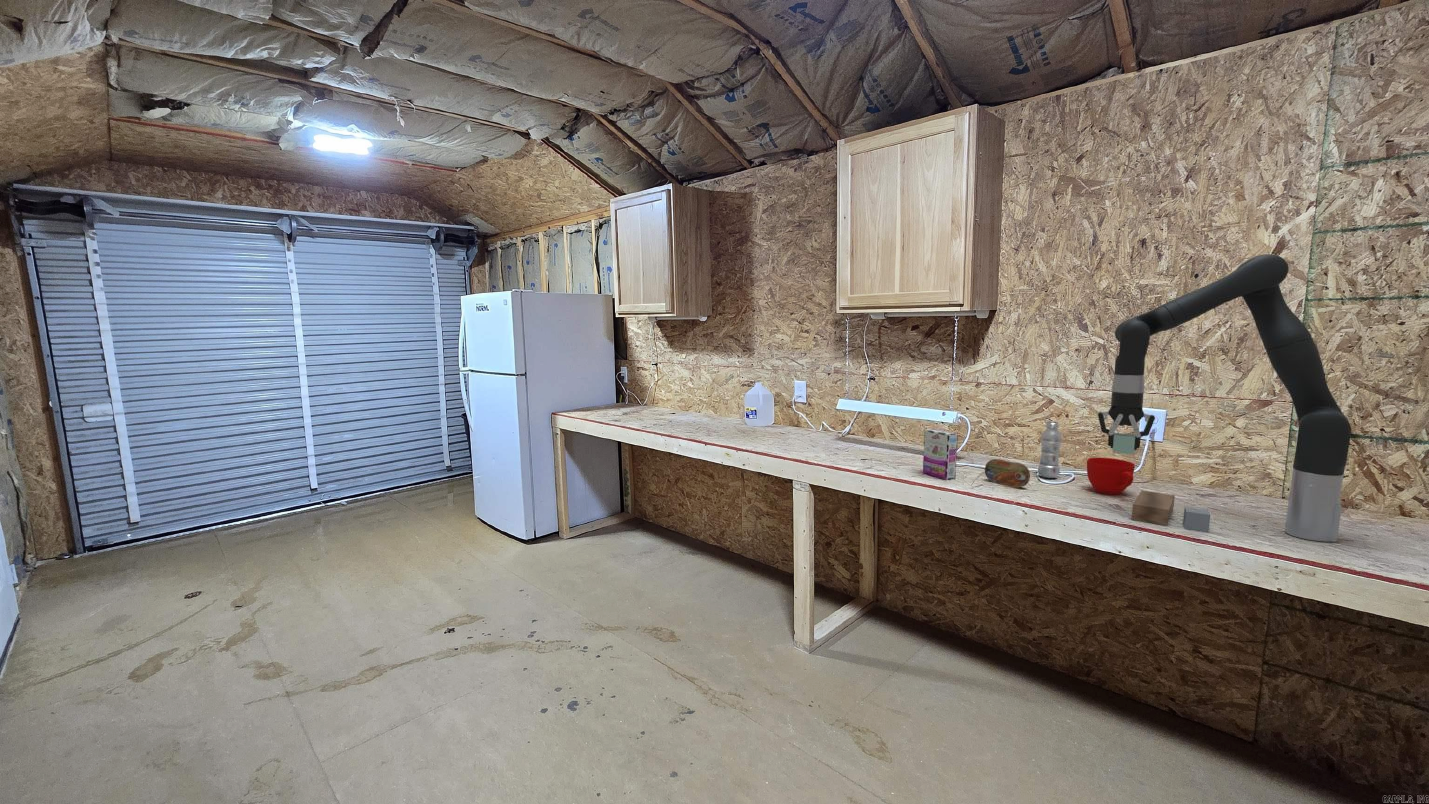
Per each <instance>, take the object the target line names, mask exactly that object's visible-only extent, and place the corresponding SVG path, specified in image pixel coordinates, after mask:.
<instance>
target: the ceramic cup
mask: <svg viewBox="0 0 1429 804" xmlns="http://www.w3.org/2000/svg"><path fill="white" fill-rule="evenodd" d="M1135 466H1136V465H1135V463H1133V462H1131V461H1128V460H1124V459H1118V458H1111V457H1091V458H1087V459H1086V473H1087V478H1088V481H1089V483H1090V485H1091V486H1092V488H1093V489H1094V490H1095V491H1096V492H1097V493H1100V494H1104V495H1110V496H1111V495H1112V496H1113V495H1114V496H1116V495H1120V494H1121V493H1123V492H1124V491H1125V490H1126V489H1127V488H1128V487H1130V486H1131V485H1132V484H1133V482H1134V472H1135V469H1136V468H1135Z"/></svg>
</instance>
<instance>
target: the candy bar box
mask: <svg viewBox="0 0 1429 804" xmlns="http://www.w3.org/2000/svg"><path fill="white" fill-rule="evenodd" d="M958 435H959V434H958V432H952V431H947V430H941V429H937V428H928V429H924V440H923V441H924V442H923V459H922V460H923V461H922V474H924V475H927V476H930V477H936V478H938V479H942V480H946V481H949V480H955V479H956V477H957V476H956V475H957V474H956V473H957V471H956V470H957V458H958V457H957V454H958V439H959V438H958Z"/></svg>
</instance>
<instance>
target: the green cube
mask: <svg viewBox="0 0 1429 804" xmlns="http://www.w3.org/2000/svg"><path fill="white" fill-rule="evenodd" d="M1134 445H1135V433H1123V432H1122V433H1121V432H1114V441H1113V448H1112V453H1114V454H1115V453H1116V454H1125V455H1135V450H1134Z"/></svg>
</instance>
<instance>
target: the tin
mask: <svg viewBox="0 0 1429 804" xmlns="http://www.w3.org/2000/svg"><path fill="white" fill-rule="evenodd" d="M984 473H985V474H984V475H985V477H986V478H987V480H988V481H989V482H991V483H992V484H993V483H994V484H997V485H1002V486H1006V487H1009V488H1012V489H1013V488H1015V489H1017V488H1018V489H1019V488H1023V487H1025V486H1027V485H1028V484H1029V481H1030V478H1031V472H1030V470H1029V468H1028V467H1027V466H1026V465H1025V464H1023V463H1020V462H1018V461H1017V462H1016V461H1010V460H1007V459H1001V458H993V459H992V458H991V459H990V460H988V461H987V462H986V464H985V466H984Z"/></svg>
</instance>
